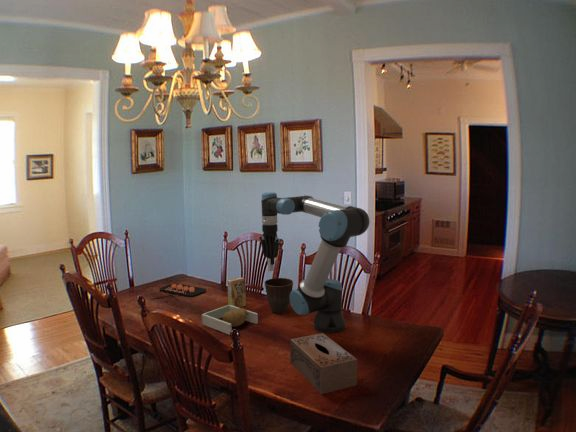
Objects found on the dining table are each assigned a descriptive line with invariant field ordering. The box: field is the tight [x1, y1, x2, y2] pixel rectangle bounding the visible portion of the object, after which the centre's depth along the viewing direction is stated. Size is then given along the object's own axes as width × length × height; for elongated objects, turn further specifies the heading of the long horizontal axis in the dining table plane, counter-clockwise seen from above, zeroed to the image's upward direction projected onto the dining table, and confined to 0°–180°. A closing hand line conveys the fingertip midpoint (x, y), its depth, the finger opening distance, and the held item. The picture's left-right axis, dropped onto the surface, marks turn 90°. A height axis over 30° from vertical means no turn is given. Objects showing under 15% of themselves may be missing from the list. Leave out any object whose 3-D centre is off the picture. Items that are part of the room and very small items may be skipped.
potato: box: [222, 307, 248, 328], centre depth 213 cm, size 10×14×8 cm
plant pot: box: [264, 277, 294, 315], centre depth 231 cm, size 15×15×16 cm
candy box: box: [227, 277, 247, 308], centre depth 239 cm, size 9×4×15 cm, turn 129°
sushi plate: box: [151, 282, 208, 302], centre depth 263 cm, size 29×30×4 cm
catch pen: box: [200, 304, 259, 336], centre depth 215 cm, size 21×18×5 cm
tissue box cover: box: [289, 332, 358, 395], centre depth 165 cm, size 26×14×10 cm, turn 24°
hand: (270, 270), depth 220 cm, fingers closed
